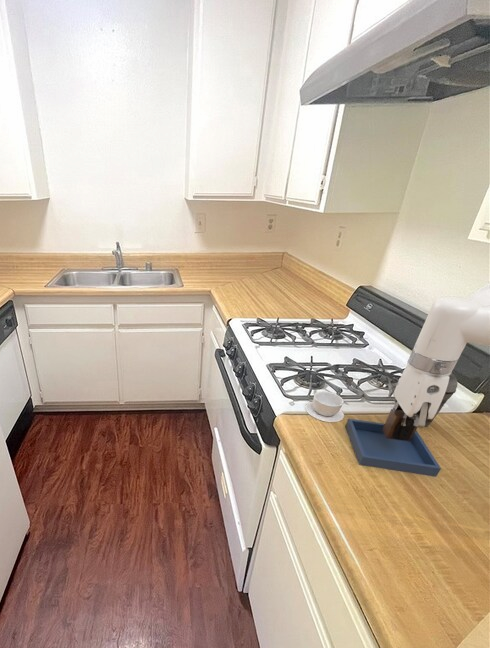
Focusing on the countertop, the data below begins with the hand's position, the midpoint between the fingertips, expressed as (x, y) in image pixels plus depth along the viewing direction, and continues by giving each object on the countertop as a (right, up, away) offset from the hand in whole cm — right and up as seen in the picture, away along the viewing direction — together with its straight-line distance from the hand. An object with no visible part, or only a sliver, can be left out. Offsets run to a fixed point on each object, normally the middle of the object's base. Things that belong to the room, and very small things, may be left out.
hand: (397, 432), depth 79 cm
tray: (-1, -4, +3) cm, 5 cm away
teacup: (-10, +4, +16) cm, 19 cm away
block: (0, -1, 0) cm, 1 cm away
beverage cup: (+14, +1, +13) cm, 19 cm away
